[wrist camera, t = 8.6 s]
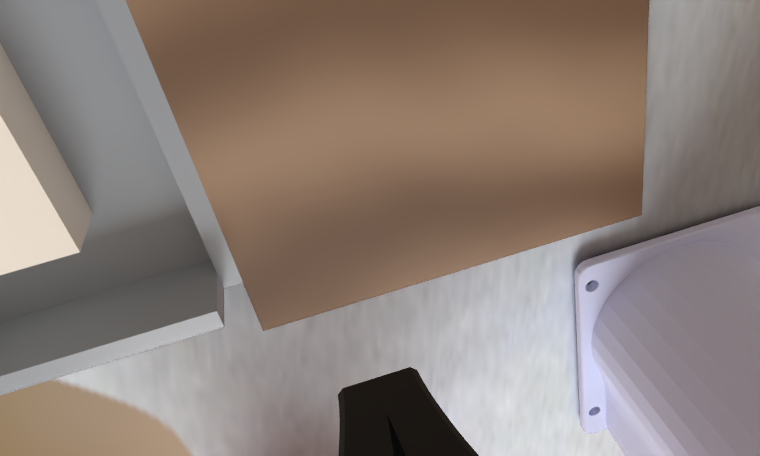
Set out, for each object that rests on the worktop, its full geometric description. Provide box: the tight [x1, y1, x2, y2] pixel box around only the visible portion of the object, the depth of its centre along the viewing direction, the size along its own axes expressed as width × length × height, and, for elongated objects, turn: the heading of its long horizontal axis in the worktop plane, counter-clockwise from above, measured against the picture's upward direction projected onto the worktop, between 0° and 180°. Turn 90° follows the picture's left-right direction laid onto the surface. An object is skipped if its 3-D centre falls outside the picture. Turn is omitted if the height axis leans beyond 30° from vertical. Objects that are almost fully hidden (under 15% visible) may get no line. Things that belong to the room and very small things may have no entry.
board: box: [125, 0, 649, 331], centre depth 17 cm, size 16×13×1 cm
